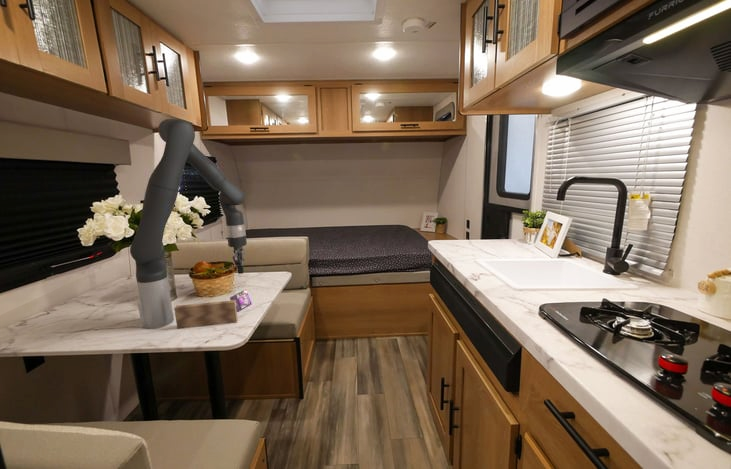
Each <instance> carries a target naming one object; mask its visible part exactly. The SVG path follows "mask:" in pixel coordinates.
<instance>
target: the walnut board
mask: <svg viewBox="0 0 731 469" xmlns="http://www.w3.org/2000/svg"><path fill="white" fill-rule="evenodd" d="M173 309H174V316H175V323H176V329H177V330H180V329H191V328H199V327H208V326H216V325H217V326H218V325H228V324H234V323H235V324H236V323H238V313H237V309H236V300H232V301H231V300H223V301H213V302H211V301H210V302H201V303H191V304H183V305H175V307H173Z"/></svg>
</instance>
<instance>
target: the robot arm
mask: <svg viewBox="0 0 731 469" xmlns="http://www.w3.org/2000/svg"><path fill="white" fill-rule="evenodd" d="M157 127H158V129H157V130H158V135H159V137H160V139H161V140H162V141H163V142H165V145H164V150H163V154H162V157H161V159H160V160H159V162H158V164H156V167H155V168H154V170H153V171H152V172H151V175H150V176H149V178H148V181H147V184H146V189H145V192H144V197H143V204H142V208H141V215H140V222H139V225H138V228H137V231H136V233H135V236H134V237H133V240H132V243H131V244H130V248H129V252H130V256H131V258H132V259H133V260H134V262H135V278H136V284H137V285H136V286H137V290H138V295H139V301H138V303H137V306H138V313H139V318H140V324H141V328H146V329H157V328H158V329H159V328H163V327H165V326H168V325H169V324H171V323H172V322H174V319H175V318H174V312H173V305H172V297H171V291H170V286H169V279H168V278H169V277H168V270H167V269H168V268H167V267H168V266H167V259H166V252H165V246H164V242H163V239H164V234H165V228H166V225H167V223H168V221H169V218H170V216H171V214H172V212H173V209H174V206H175V204H176V203H177V202H176V201H177V197H178V194H179V191H180V186H181V182H182V179H183V174H184V170H185V166H186V162H188V163H189V164H190V165H191V166H192V168H194V170H196V172H198V174H199V175H200V176H201V177H202V178H203V180H204V181H205V182H206V183H207V184H208V185H209V186H210V187H211V189H213V190H214V191H217V192H219V195H218V196H219V197H218V199H219V204H220V206H221V209H222V212H223V214H224V216H225V225H226V238H227V239H226V240H227V245H228V247H229V248H233V250H232V255H233V256H232V260H233V262H234V265H235V266H236V267H237V273H238V274H240V275H242V274H243V273H245V268H244V262H245V249H244V248H243V247H245V246H246V245H247V244H248V243H247V242H248V241H247V234H246V226H245V223H244V222H245V221H244V214H243V212H242V211H241V210H239V209H237V206H240V205H242V204H243V203H244V202H245V199H246V196H245V193H244V192H243V189H241V188H240V187H239V185H237V184H236V183H235V182H233V181H232V180H230V178H228V177H227V176H226V175H225V174H224V172H223V171H222V170H221V169H220V168H219V166H218V165H217V164H216V163H215V162H213V161H212V160H211V159H209V157H208V156H207V155H205V154H204V153H203V152H202V151H201V150H200V149H199V148H198V147H197V146H196V145H195V144H194V143H195V138H196V132H195V129H194V126H193V125H192V124H191V123H190V122H189V121H187V120H184V119H178V118H167V119H163V120H162V121H161V122H159V124H158V126H157Z"/></svg>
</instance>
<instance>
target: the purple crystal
mask: <svg viewBox="0 0 731 469" xmlns="http://www.w3.org/2000/svg"><path fill="white" fill-rule="evenodd" d="M244 295H245V297H246V298H245V297H244ZM229 299H230V300H229V301H232V300H236V309H237V312H238V313H240V312H241V311H243V310H245V309H246V308H248V307H250V306H252V301H251V298H250V296H249V293H248V291H247V289H244V290H241V291H240V292H238V293H236V294H234V295H233V296H230V297H229ZM246 299H247V301H248V303H247V305H246V306H244V307H242V306H243V305H244V303H245V302H246Z"/></svg>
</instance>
